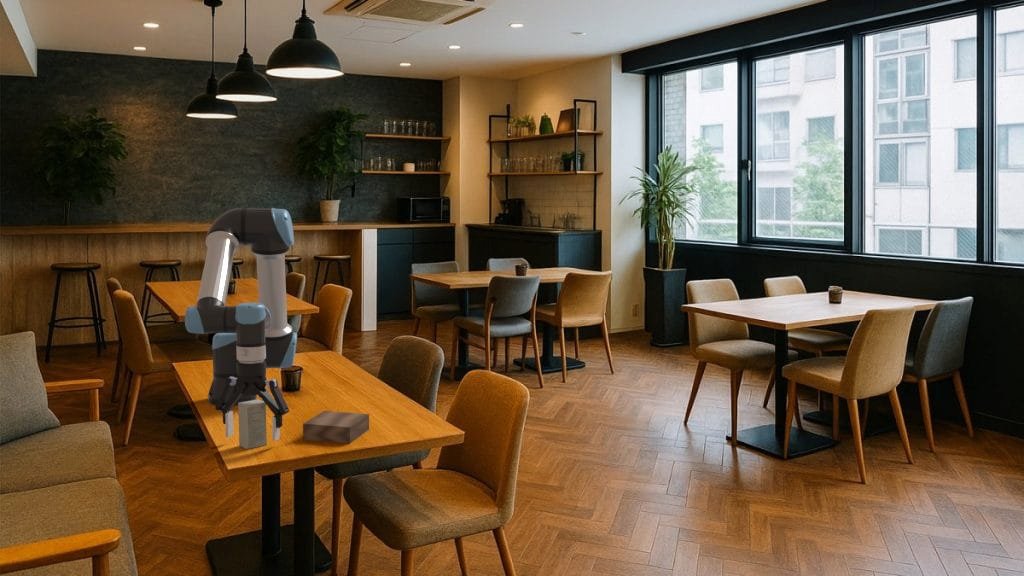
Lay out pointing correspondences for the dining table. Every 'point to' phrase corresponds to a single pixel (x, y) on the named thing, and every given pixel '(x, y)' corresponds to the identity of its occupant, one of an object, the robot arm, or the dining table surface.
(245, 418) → the skincare box
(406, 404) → the dining table surface
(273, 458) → the dining table surface
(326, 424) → the plate
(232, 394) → the robot arm
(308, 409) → the dining table surface
